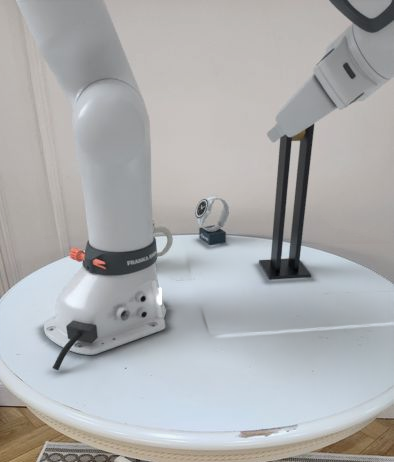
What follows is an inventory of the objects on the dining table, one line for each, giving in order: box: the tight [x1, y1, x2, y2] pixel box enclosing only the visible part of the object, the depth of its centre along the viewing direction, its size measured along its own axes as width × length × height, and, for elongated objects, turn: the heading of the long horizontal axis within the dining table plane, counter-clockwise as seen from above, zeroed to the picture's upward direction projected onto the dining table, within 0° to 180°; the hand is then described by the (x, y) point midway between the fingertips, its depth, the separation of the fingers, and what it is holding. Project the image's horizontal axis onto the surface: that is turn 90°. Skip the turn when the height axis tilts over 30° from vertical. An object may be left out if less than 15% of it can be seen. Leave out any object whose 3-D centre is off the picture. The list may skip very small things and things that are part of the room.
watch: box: [194, 195, 230, 246], centre depth 126 cm, size 6×8×11 cm
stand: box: [258, 123, 315, 281], centre depth 106 cm, size 9×9×30 cm
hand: (283, 126), depth 83 cm, fingers open, 8 cm apart
